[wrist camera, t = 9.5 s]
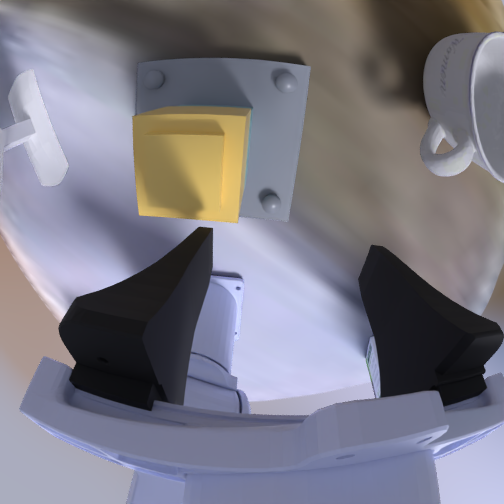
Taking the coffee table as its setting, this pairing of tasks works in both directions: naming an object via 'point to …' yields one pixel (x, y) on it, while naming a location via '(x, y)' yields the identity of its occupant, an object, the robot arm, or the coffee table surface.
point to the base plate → (242, 89)
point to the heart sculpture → (33, 132)
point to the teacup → (465, 103)
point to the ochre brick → (191, 161)
